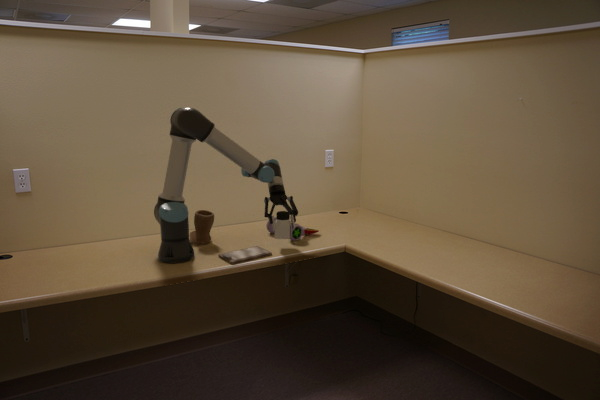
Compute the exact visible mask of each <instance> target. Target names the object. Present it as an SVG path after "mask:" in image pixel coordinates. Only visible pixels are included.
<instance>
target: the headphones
mask: <svg viewBox="0 0 600 400" xmlns="http://www.w3.org/2000/svg"><path fill="white" fill-rule="evenodd" d="M274 220H275V221H276V217H275V216H274ZM265 227H266V230H267V231H268V232H269V234H272V235H273V234H275V231H273V227H272V224H270V222H269V219H268V220H267V221H266V226H265ZM318 232H320V230H318V229H313V228H309V227H305V226H302V225H300V224H298V223H296V222H295V229H294V230H293V229H292V224H291V235H290V239H289V240H290V241H293V242H294V241H298V240H300V239H301V238H302V237H303V236H306V235H313V234H316V233H318Z"/></svg>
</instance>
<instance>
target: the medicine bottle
mask: <svg viewBox="0 0 600 400" xmlns="http://www.w3.org/2000/svg"><path fill="white" fill-rule="evenodd" d="M290 217H291V215H290V213H289V212H288V211H287V210H280V211H277V212H276V221H275V226H276V229H275V233H274V239H275V240H276V239H277V240H283V239H284V240H290V235H291V219H290Z"/></svg>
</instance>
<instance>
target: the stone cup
mask: <svg viewBox="0 0 600 400" xmlns="http://www.w3.org/2000/svg"><path fill="white" fill-rule="evenodd" d="M193 221H194V222H193V225H194V230H193V231H189V240H190V242H191V243H193V244H208V243H210V242H211V241H212V236H211V230H212V227H213V225H214V222H215V213H213V212H212V211H209V210H208V209H207V210H206V209H205V210H204V209H199V210H196V211H195V213H194V217H193Z"/></svg>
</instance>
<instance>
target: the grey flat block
mask: <svg viewBox="0 0 600 400" xmlns="http://www.w3.org/2000/svg"><path fill="white" fill-rule="evenodd" d="M217 255H218V258H220V259H221V260H223V261H225V262H227V263H229V264H230V265H236V264H239V263H243V262H244V263H245V262H248V261H252V260H256V259H261V258H265V257H269V256H272V255H273V252H271V251H269V250H268V249H265V248H262V246H261V247H260V246H259V245H254V246H251V247H246V248H241V249H237V250H233V251H228V252H224V253H219V254H217Z"/></svg>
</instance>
